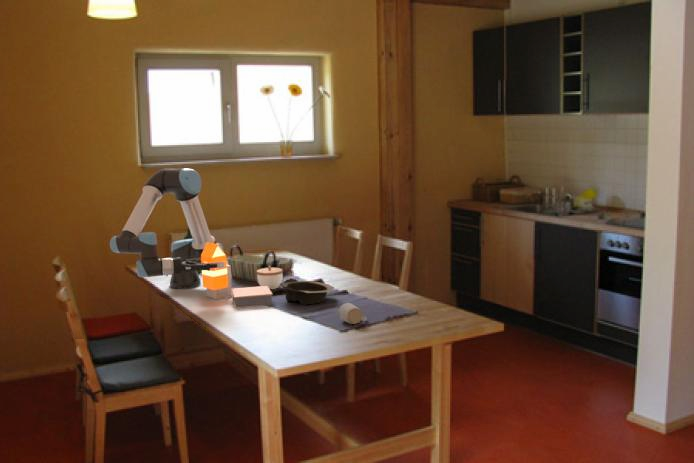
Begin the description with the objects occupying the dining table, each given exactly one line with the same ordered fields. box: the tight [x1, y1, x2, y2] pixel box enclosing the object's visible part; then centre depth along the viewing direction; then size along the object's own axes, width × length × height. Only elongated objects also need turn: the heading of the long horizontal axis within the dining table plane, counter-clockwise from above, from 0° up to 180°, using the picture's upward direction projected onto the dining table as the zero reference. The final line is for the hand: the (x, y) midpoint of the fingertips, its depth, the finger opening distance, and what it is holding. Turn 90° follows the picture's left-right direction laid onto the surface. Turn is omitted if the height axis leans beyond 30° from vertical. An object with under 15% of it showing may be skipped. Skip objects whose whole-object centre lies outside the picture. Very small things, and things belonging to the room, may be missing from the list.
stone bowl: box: [280, 278, 335, 306], centre depth 364 cm, size 25×25×9 cm
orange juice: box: [201, 242, 228, 290], centre depth 357 cm, size 8×9×20 cm
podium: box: [231, 285, 274, 309], centre depth 365 cm, size 17×17×5 cm
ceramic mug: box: [338, 302, 368, 325], centre depth 326 cm, size 11×8×8 cm
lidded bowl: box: [256, 265, 284, 290], centre depth 390 cm, size 13×13×11 cm
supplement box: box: [206, 264, 233, 300], centre depth 376 cm, size 9×9×15 cm
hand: (223, 262), depth 358 cm, fingers closed on orange juice, 10 cm apart
